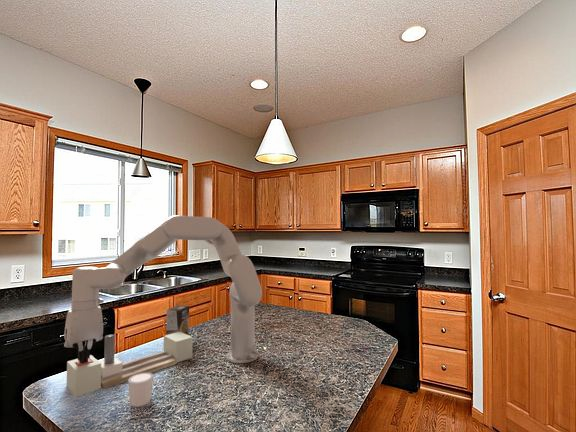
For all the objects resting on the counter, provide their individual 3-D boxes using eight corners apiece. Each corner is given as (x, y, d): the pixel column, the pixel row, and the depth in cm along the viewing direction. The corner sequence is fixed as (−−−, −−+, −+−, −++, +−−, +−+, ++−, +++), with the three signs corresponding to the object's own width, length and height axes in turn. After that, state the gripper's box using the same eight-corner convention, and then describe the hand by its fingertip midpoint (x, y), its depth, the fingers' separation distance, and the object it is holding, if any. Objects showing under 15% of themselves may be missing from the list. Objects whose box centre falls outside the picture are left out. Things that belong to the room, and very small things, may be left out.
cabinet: (192, 357, 125) (192, 337, 125) (176, 362, 120) (176, 341, 120) (179, 350, 132) (179, 331, 132) (163, 355, 126) (163, 335, 127)
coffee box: (178, 348, 134) (179, 310, 135) (165, 347, 136) (165, 309, 136) (189, 340, 143) (189, 305, 144) (176, 339, 145) (177, 304, 145)
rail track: (176, 364, 119) (176, 357, 119) (103, 389, 100) (103, 381, 100) (161, 355, 127) (161, 349, 127) (91, 377, 108) (91, 369, 108)
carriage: (122, 371, 107) (123, 336, 107) (102, 377, 102) (103, 340, 103) (114, 365, 111) (115, 331, 112) (95, 371, 107) (96, 335, 107)
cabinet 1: (100, 388, 100) (101, 363, 101) (75, 397, 95) (75, 370, 96) (90, 378, 107) (91, 355, 107) (66, 386, 102) (67, 361, 102)
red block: (91, 374, 101) (92, 361, 102) (78, 378, 99) (79, 364, 99) (88, 370, 104) (88, 358, 104) (75, 374, 101) (76, 361, 101)
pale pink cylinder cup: (133, 395, 96) (133, 372, 97) (156, 394, 97) (156, 371, 97) (123, 408, 89) (124, 383, 90) (148, 407, 90) (148, 382, 90)
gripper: (106, 299, 110) (104, 352, 109) (54, 307, 99) (52, 365, 98) (114, 302, 105) (112, 357, 104) (60, 311, 94) (58, 373, 93)
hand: (83, 361), depth 101 cm, fingers closed
